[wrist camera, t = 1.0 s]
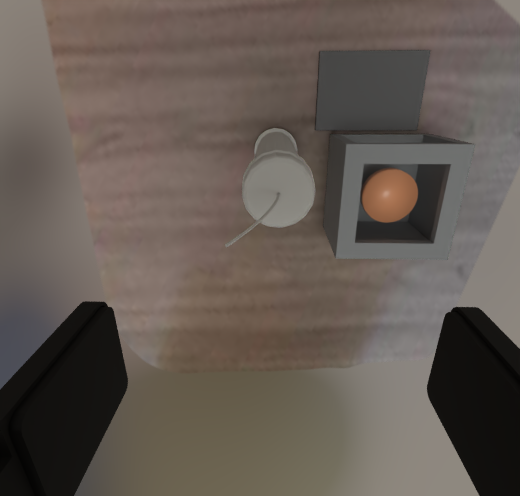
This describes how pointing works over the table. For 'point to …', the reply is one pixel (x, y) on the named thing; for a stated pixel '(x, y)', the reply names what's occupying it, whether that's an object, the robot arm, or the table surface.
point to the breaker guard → (427, 205)
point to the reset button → (389, 195)
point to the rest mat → (370, 89)
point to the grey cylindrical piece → (277, 182)
